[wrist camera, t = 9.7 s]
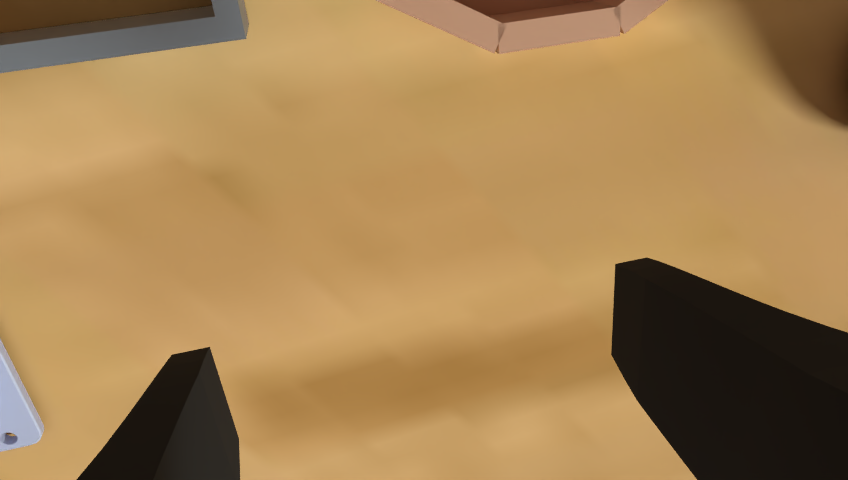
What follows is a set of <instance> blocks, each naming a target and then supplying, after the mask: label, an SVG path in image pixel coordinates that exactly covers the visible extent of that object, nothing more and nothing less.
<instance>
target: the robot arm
mask: <svg viewBox="0 0 848 480" xmlns="http://www.w3.org/2000/svg"><path fill="white" fill-rule="evenodd" d="M611 355H612V357H613V358H614V360H615V362H616V364H617V366H618V368H619V370H620V371H621V373H622V375H623V377H624V379H625V381H626V382H627V384H628V386H629V387H630V389H631V391H632V392H633V394H634V396H635V398H636V399H637V401H638V402H639V404H640V405H641V406H642V408H643V409H644V410H645V412H646V413H647V414H648V416H649V417H650V418H651V420H652V421H653V422H654V424H655V425H656V426H657V428H658V429H659V430H660V432H661V433H662V434H663V436H664V437H665V438H666V440H667V441H668V442H669V443H670V445H671V446H672V447H673V449H674V450H675V451H676V453H677V454H678V455H679V456H680V458H681V459H682V460H683V462H684V463H685V464H686V466H687V467H688V468H689V469H690V471H691V472H692V473H693V475H694V476H695V477H696V479H697V480H848V333H847V332H844V331H841V330H838V329H834V328H831V327H828V326H825V325H822V324H820V323H817V322H814V321H811V320H808V319H805V318H802V317H800V316H797V315H794V314H791V313H788V312H785V311H783V310H780V309H777V308H775V307H772V306H770V305H767V304H764V303H762V302H759V301H757V300H754V299H751V298H749V297H747V296H744V295H742V294H739V293H737V292H734V291H732V290H729V289H727V288H724V287H722V286H719V285H717V284H715V283H712V282H710V281H707V280H705V279H702V278H700V277H698V276H695V275H693V274H690V273H688V272H685V271H683V270H680V269H678V268H675V267H673V266H670V265H667V264H665V263H662V262H659V261H656V260H653V259H650V258H643V259H638V260H633V261H628V262H623V263H618V264H615V286H614V309H613V331H612V354H611ZM43 432H44V425H43V423H42V421H41V419H40V417H39V415H38V413H37V411H36V409H35V407H34V405H33V403H32V401H31V399H30V397H29V395H28V393H27V391H26V389H25V387H24V385H23V383H22V381H21V379H20V377H19V375H18V373H17V371H16V369H15V367H14V365H13V363H12V361H11V359H10V357H9V355H8V353H7V351H6V349H5V347H4V345H3V343H2V341H1V339H0V452H1V451H6V450H10V449H15V448H20V447H24V446H29V445H32V444H35V443H37V442H38V441H39V440H40V439H41V436H42V434H43ZM6 433H13V434H15V435H16V436H9V435H7V434H6ZM77 480H240V460H239V438H238V435H237V431H236V428H235V425H234V422H233V419H232V416H231V413H230V409H229V406H228V403H227V400H226V397H225V394H224V391H223V387H222V384H221V381H220V378H219V375H218V372H217V369H216V365H215V362H214V359H213V356H212V353H211V350H210V347H208V348H203V349H198V350H193V351H188V352H183V353H178V354H173V355H171V357H170V358H169V359H168V361H167V362H166V363H165V365H164V366H163V367H162V369H161V370H160V371H159V373H158V374H157V376H156V377H155V378H154V380H153V381H152V382H151V384H150V385H149V387H148V388H147V389H146V391H145V392H144V394H143V395H142V396H141V398H140V399H139V401H138V402H137V403H136V405H135V406H134V407H133V409H132V410H131V412H130V413H129V414H128V416H127V417H126V418H125V420H124V421H123V422H122V424H121V425H120V426H119V428H118V429H117V430H116V431H115V433H114V434H113V435H112V437H111V438H110V439H109V441H108V442H107V443H106V445H105V446H104V447H103V449H102V450H101V451H100V452H99V453H98V455H97V456H96V457H95V458H94V459H93V461H92V462H91V463H90V464H89V465H88V467H87V468H86V469H85V470H84V471H83V473H82V474H81V475H80V476H79V477H78V479H77Z"/></svg>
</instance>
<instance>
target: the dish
mask: <svg viewBox="0 0 848 480" xmlns="http://www.w3.org/2000/svg"><path fill="white" fill-rule="evenodd" d="M376 1H378V2H381V3H383V4H385V5H387V6H390V7H392V8H394V9H396V10H399V11H401V12H403V13H405V14H408V15H410V16H412V17H414V18H416V19H419V20H421V21H423V22H425V23H428V24H430V25H432V26H434V27H437V28H439V29H441V30H443V31H445V32H448V33H450V34H452V35H454V36H457V37H459V38H461V39H463V40H466V41H468V42H470V43H472V44H475V45H477V46H479V47H481V48H483V49H486V50H488V51H490V52H492V53H495V52H497V53H498V54H502V53H509V52H515V51H522V50H529V49H535V48H542V47H549V46H555V45H562V44H568V43H575V42H582V41H588V40H595V39H602V38H608V37H615V36H620V32H621V33H624V34H625V33H626V32H627V31H629V30H630V29H631V28H633V27H634V26H635V25H637V24H638V23H639V22H640V21H642V20H643V19H644V18H646V17H647V16H648V15H650V14H651V13H652V12H653V11H655V10H656V9H657V8H659V7H660V6H661V5H663V4H664V3H665V2H666V1H668V0H376Z"/></svg>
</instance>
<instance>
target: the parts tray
mask: <svg viewBox="0 0 848 480" xmlns="http://www.w3.org/2000/svg"><path fill="white" fill-rule="evenodd" d="M211 1H212V5H213V6H205V7H198V8H190V9H182V10H175V11H167V12H159V13H152V14H144V15H137V16H129V17H121V18H114V19H106V20H99V21H91V22H83V23H76V24H68V25H60V26H53V27H45V28H38V29H30V30H22V31H15V32H7V33H0V73H4V72H11V71H19V70H26V69H33V68H40V67H47V66H54V65H62V64H69V63H76V62H83V61H90V60H97V59H105V58H112V57H119V56H126V55H133V54H140V53H148V52H155V51H162V50H169V49H176V48H183V47H191V46H198V45H205V44H212V43H219V42H227V41H234V40H241V39H246V37H247V32H248V27H249V22H248V17H247V13H246V8H245V3H244V0H211Z"/></svg>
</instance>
